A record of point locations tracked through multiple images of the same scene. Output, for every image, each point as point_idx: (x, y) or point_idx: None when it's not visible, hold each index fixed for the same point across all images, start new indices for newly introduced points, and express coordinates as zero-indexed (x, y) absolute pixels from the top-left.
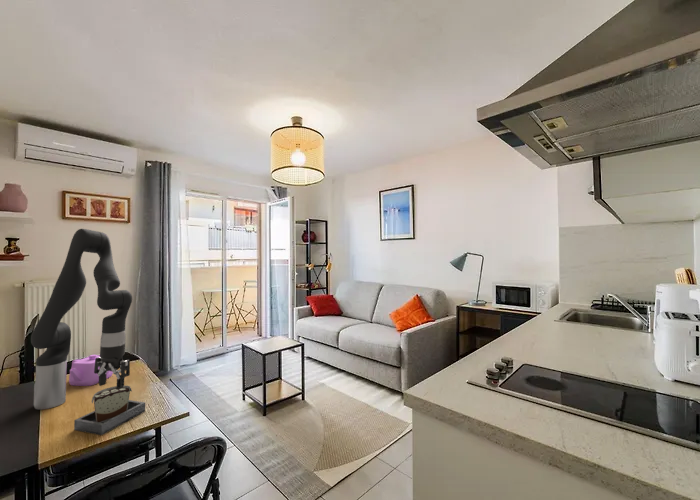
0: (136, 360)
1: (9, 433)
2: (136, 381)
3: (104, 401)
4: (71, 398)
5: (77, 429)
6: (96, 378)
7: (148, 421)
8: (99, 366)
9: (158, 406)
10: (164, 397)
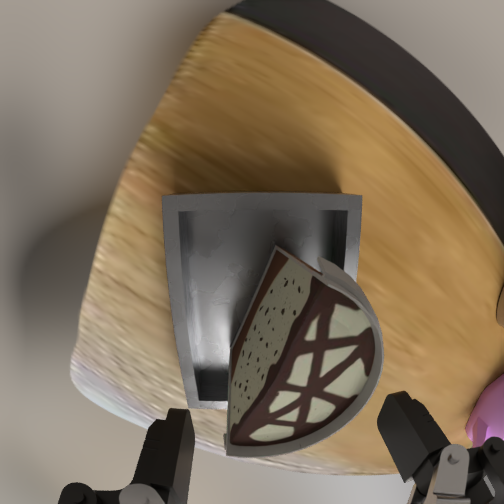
0: None
1: (489, 143)
2: None
3: (282, 320)
4: (492, 337)
5: (325, 192)
6: (485, 407)
7: (105, 328)
8: (489, 502)
9: None
10: None
